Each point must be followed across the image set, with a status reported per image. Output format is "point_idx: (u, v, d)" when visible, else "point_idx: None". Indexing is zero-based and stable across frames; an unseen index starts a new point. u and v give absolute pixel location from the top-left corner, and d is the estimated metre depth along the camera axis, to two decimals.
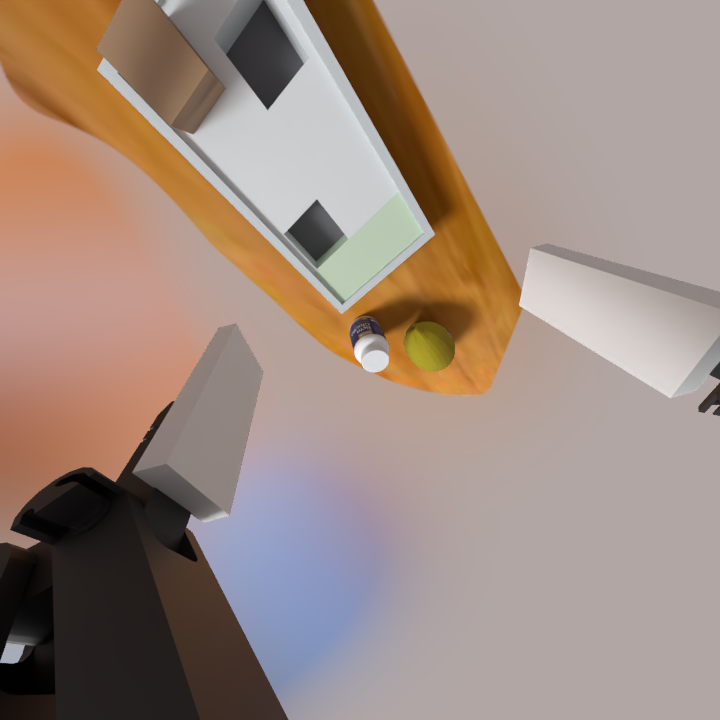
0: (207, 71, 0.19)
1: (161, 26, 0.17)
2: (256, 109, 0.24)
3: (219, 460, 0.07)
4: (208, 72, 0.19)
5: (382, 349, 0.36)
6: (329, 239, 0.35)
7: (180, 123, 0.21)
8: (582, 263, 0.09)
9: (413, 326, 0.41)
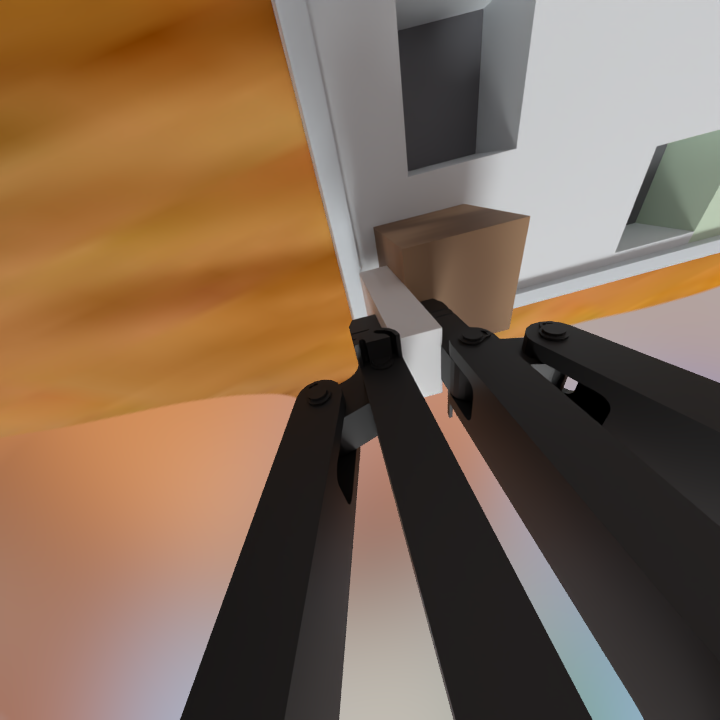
0: (527, 219, 0.10)
1: (453, 252, 0.10)
2: (501, 171, 0.13)
3: None
4: None
5: None
6: None
7: None
8: (386, 286, 0.11)
9: None
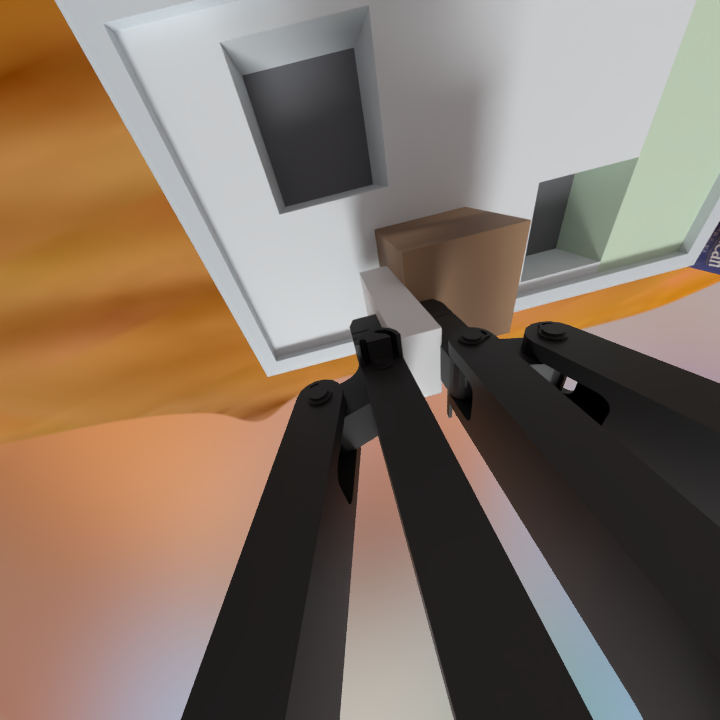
0: (528, 223, 0.10)
1: (453, 256, 0.10)
2: (378, 208, 0.13)
3: None
4: None
5: None
6: (555, 201, 0.18)
7: None
8: (385, 286, 0.11)
9: None
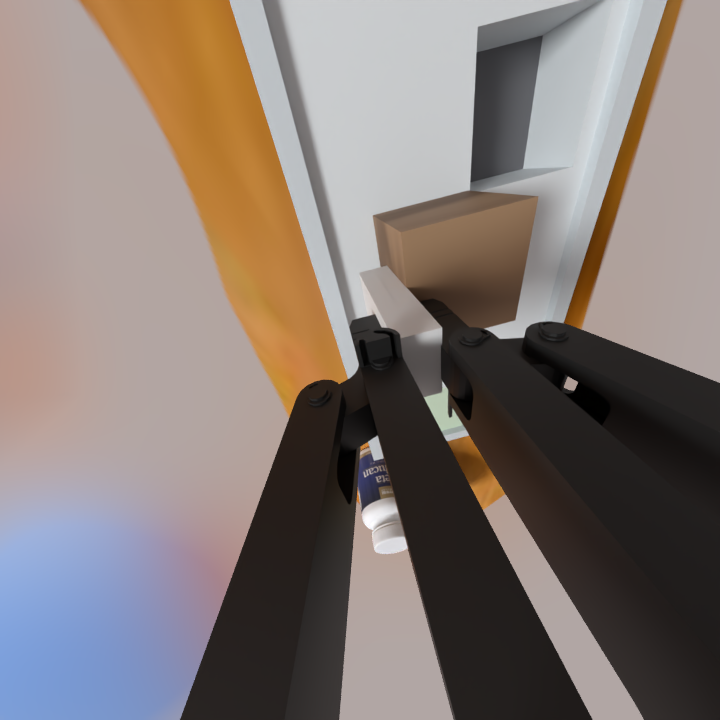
0: (511, 320, 0.12)
1: (512, 259, 0.10)
2: (454, 182, 0.13)
3: None
4: None
5: None
6: None
7: None
8: (386, 286, 0.11)
9: None
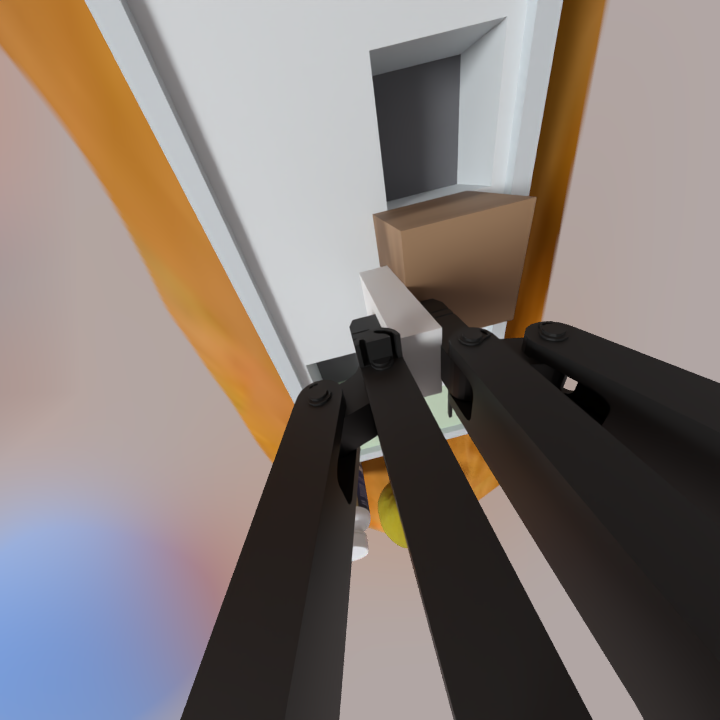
0: (509, 319, 0.12)
1: (510, 258, 0.10)
2: (370, 201, 0.13)
3: None
4: None
5: (365, 542, 0.25)
6: (357, 369, 0.24)
7: None
8: (386, 286, 0.11)
9: None
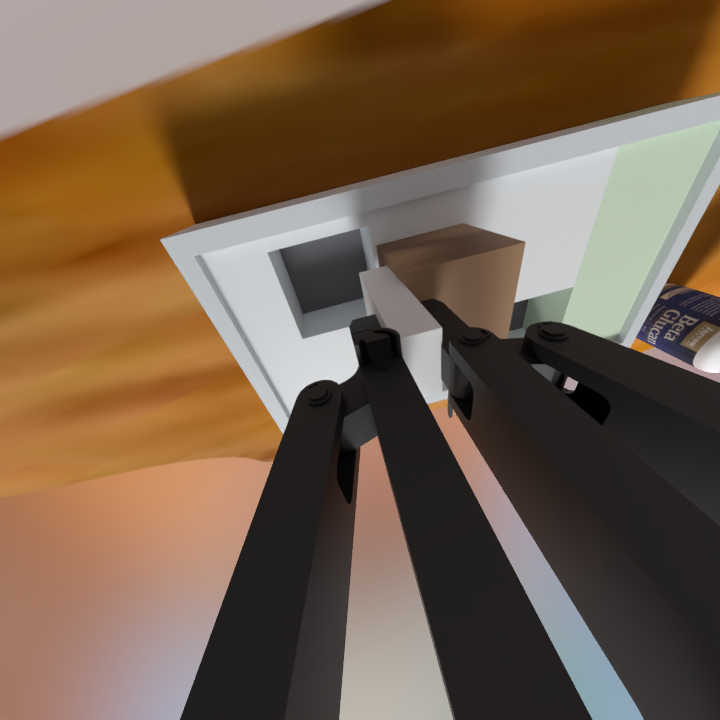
0: (523, 244, 0.10)
1: (452, 275, 0.10)
2: None
3: None
4: None
5: None
6: None
7: None
8: (386, 285, 0.11)
9: None
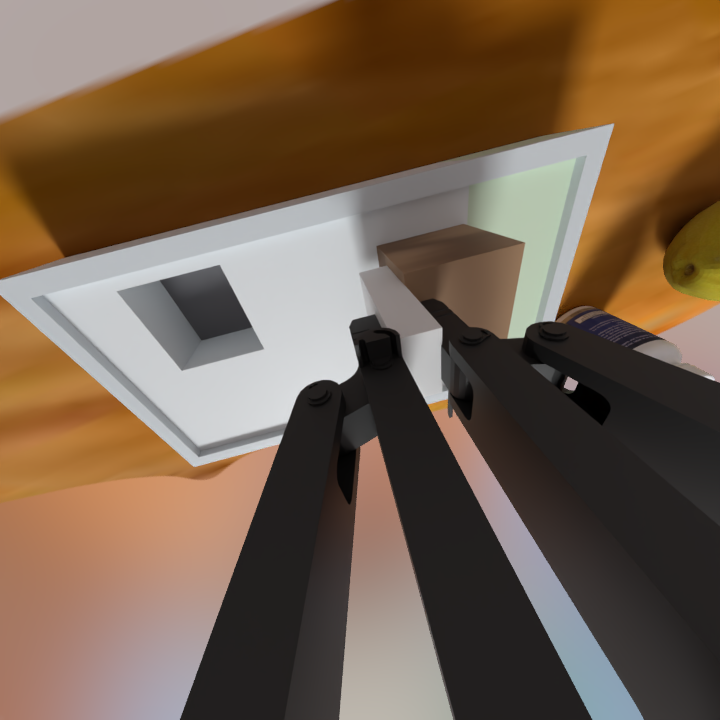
0: (523, 245, 0.10)
1: (452, 276, 0.10)
2: (259, 361, 0.17)
3: None
4: None
5: None
6: None
7: None
8: (386, 285, 0.11)
9: (685, 264, 0.18)
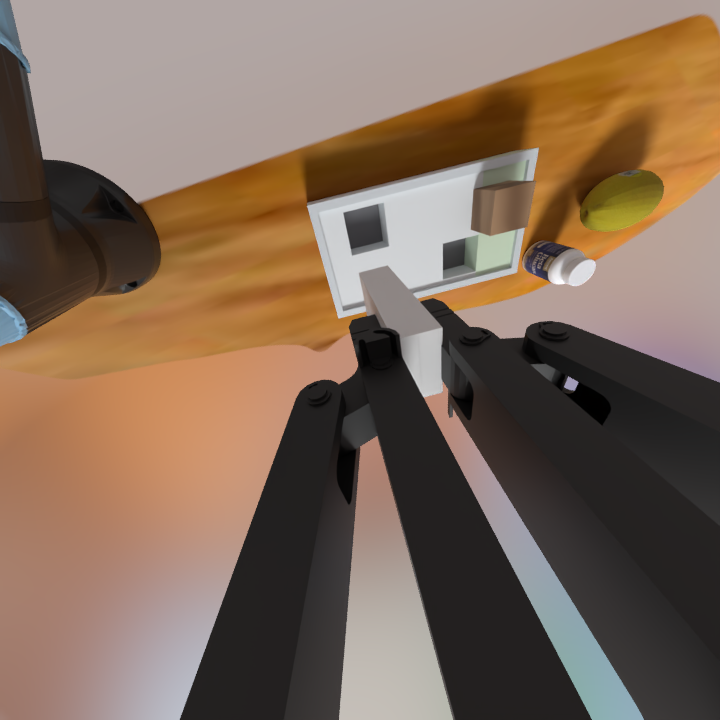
0: (535, 182, 0.30)
1: (510, 193, 0.30)
2: (385, 253, 0.37)
3: None
4: None
5: (579, 260, 0.37)
6: (459, 245, 0.42)
7: None
8: (386, 285, 0.11)
9: (584, 211, 0.38)
